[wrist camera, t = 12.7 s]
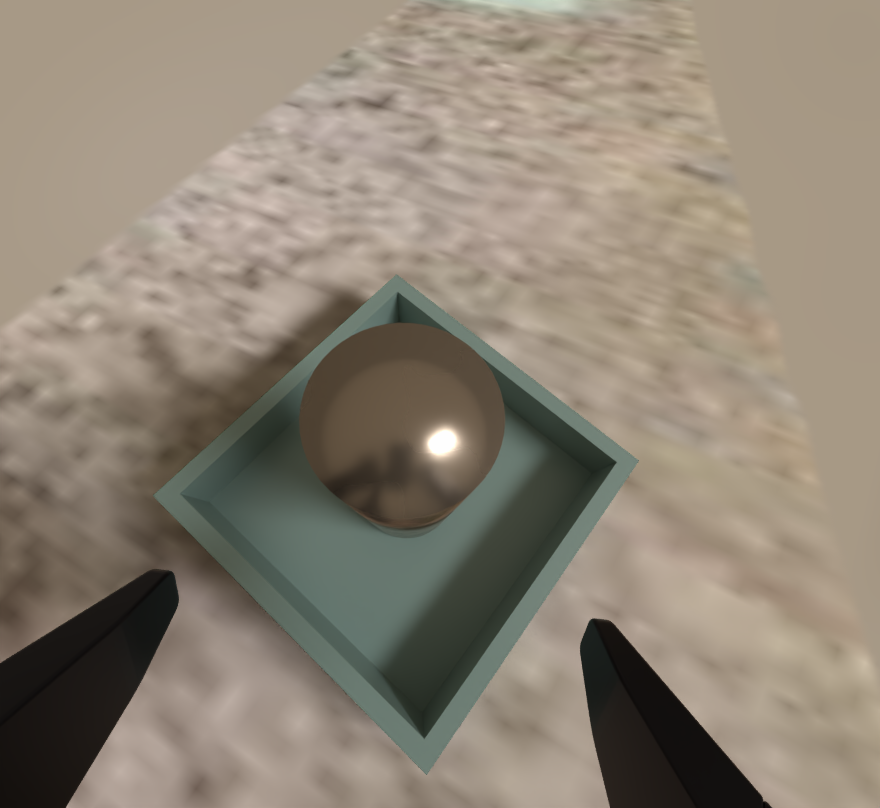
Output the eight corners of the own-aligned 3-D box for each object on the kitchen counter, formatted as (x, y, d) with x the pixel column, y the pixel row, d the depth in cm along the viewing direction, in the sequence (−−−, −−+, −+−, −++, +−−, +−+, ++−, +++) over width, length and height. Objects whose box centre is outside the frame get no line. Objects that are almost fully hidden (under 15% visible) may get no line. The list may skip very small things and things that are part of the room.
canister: (411, 559, 21) (412, 567, 9) (340, 493, 22) (254, 421, 10) (473, 484, 23) (544, 404, 11) (404, 425, 24) (397, 289, 12)
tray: (423, 735, 20) (426, 775, 16) (193, 505, 22) (152, 495, 19) (605, 474, 24) (638, 460, 21) (398, 311, 27) (396, 274, 24)
